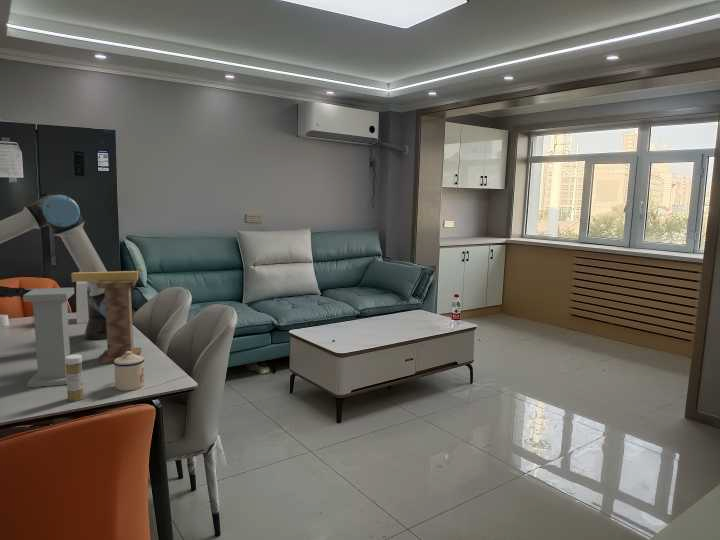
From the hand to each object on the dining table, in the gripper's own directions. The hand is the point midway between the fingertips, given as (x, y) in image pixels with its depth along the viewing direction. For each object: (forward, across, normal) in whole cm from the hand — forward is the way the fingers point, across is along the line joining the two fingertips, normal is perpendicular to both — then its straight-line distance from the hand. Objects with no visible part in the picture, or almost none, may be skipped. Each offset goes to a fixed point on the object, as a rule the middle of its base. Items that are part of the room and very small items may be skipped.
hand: (49, 293), depth 194 cm
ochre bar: (+19, +9, +5) cm, 22 cm away
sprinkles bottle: (+14, +41, -33) cm, 55 cm away
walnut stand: (+26, +3, -24) cm, 35 cm away
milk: (+12, -65, -10) cm, 67 cm away
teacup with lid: (+28, +35, -30) cm, 54 cm away
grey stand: (+6, +20, -29) cm, 36 cm away
